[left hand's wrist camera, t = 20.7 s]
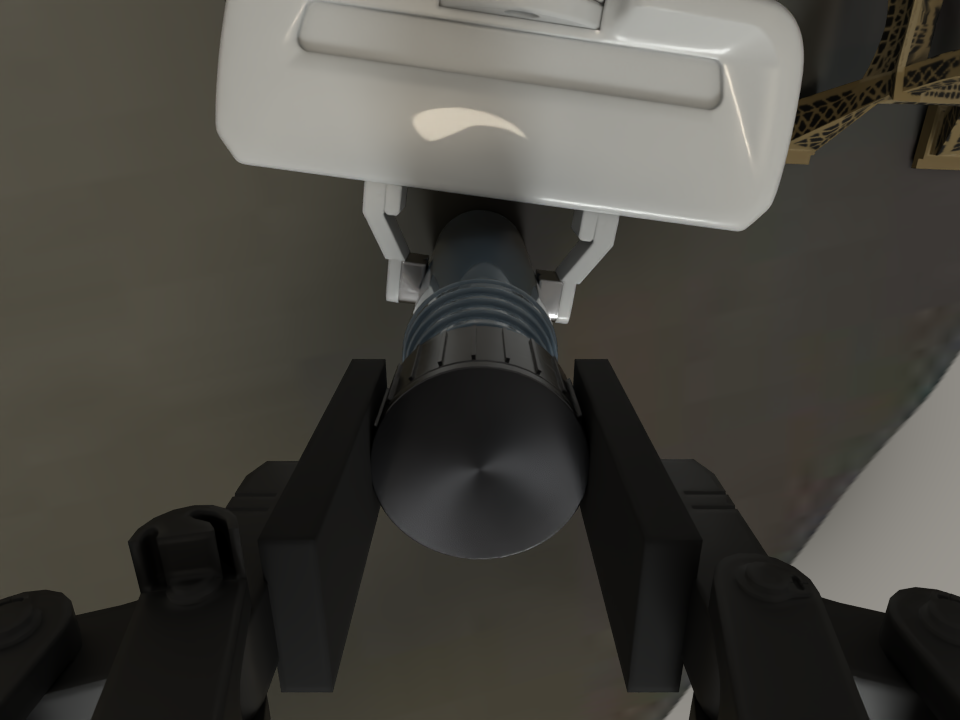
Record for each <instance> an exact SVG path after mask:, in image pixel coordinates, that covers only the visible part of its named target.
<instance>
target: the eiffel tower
mask: <svg viewBox="0 0 960 720" xmlns="http://www.w3.org/2000/svg"><path fill="white" fill-rule="evenodd" d="M942 2H943V0H888V14H887V20H886V26H885V29H884V32H883V36H882V39H881V42H880V44H879V46H878V49H877V51H876V53H875V56H874V58H873V60H872V62H871V64H870V66H869V68H868V70H867V72H866V73H865V75H864V77H863V78H862V79H861V80H858V81H855V82H852V83H849V84H846V85H842V86H839V87H836V88H833V89H830V90H827V91H824V92H821V93H817V94H814V95H811V96H808V97H805V98H802V99H799V101H798V107H797V112H796V117H795V122H794V127H793V132H792V137H791V141H790V145H789V149H788V154H787V157H786V161H785V163H786V164H809V160H810V156H811V155H814V154H815V151H816V150H818V149H819V148H820V147H822V146H823V145H824V144H825V143H827V142H828V141H829V140H831V139H832V138H833V137H835V136H836V135H837V134H839V133H840V132H841V131H842V130H844V129H845V128H846V127H848V126H849V125H850V124H852V123H853V122H854V121H855V120H857V119H858V118H859V117H861V116H862V115H863V114H865V113H866V112H867V111H868V110H870V109H871V108H872V107H874V106H875V105H876V104H878V103H883V104H924V105H929V106H928V109H927V113H926V117H925V120H924V124H923V127H922V131H921V135H920V138H919V142H918V145H917V149H916V153H915V156H914V160H913V164H912V167H911V168H919V169H945V170H960V49H959V50H955V51H951V52H946V53H943V54H940V55H938V56H935V57H932V58H929V59H927V58H928V54H929V51H930V47H931V43H932V39H933V36H934V31H935V26H936V22H937V19H938V16H939V13H940V10H941V6H942Z"/></svg>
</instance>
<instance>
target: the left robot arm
mask: <svg viewBox="0 0 960 720" xmlns="http://www.w3.org/2000/svg"><path fill="white" fill-rule="evenodd" d="M573 388H574V391H575V394H576V397H577V400H578V403H579V406H580V409H581V412H582V414H583V417H584V418H582V419H581V420H582V423H583V426H584V429H585V432H586V435H587V439H588V443H589V447H590V467H589V480H588V487H587V489H586V492H585V495H584V497H583V499H582V501H581V503H580V509H581V512H582V516H583V520H584V524H585V528H586V532H587V536H588V540H589V544H590V548H591V551H592V555H593V559H594V563H595V567H596V571H597V575H598V579H599V583H600V587H601V591H602V594H603V598H604V602H605V606H606V610H607V614H608V618H609V622H610V626H611V630H612V633H613V637H614V641H615V645H616V649H617V653H618V657H619V661H620V665H621V669H622V672H623V676H624V680H625V684H626V688H627V692H679V688H680V681H681V675H682V669H683V664H684V666H685V669H686V672H687V674H688V677H689V680H690V682H691V685H692V688H693V691H694V693H693V699H692V704H691V710H690V716H689V720H960V597H959V596H956V595H953V594H949V593H947V592H943V591H940V590H936V589H927V588H918V587H913V588H908V589H902V590H899V591H898V592H896V593H895V594H894V595H893V596H892V597H891V598H890V600H889V603H888V606H887V610H886V613H883V612H879V611H874V610H870V609H865V608H861V607H856V606H852V605H847V604H843V603H839V602H835V601H832V600H828V599H825V598H822V597H821V596H820V593H819V592H818V590H817V589H816V587H815V586H814V584H813V583H812V581H811V580H810V579H809V578H808V577H807V576H805V575H804V574H803V573H801V572H800V571H799V570H798V569H796V568H795V567H793V566H791V565H789V564H787V563H785V562H783V561H781V560H779V559H776V558H773V557H769V556H768V555H767V554H766V552H765V551H764V549H763V548H762V546H761V545H760V543H759V542H758V540H757V538H756V537H755V535H754V534H753V532H752V531H751V529H750V528H749V526H748V525H747V523H746V522H745V520H744V519H743V517H742V516H741V514H740V513H739V511H738V509H735V505H734V503H733V502H732V500H731V499H730V497H729V496H728V495H726V493H725V492H726V491H725V490H724V488H723V487H722V485H721V484H720V482H719V481H718V479H717V477H716V476H715V474H713V473H712V472H711V471H709V470H708V469H706V468H705V467H704V466H702V465H701V464H699V463H698V462H697V461H695V460H694V459H660V458H659V456H658V454H657V452H656V450H655V448H654V446H653V444H652V442H651V441H650V439H649V437H648V435H647V433H646V431H645V429H644V427H643V425H642V423H641V422H640V420H639V418H638V416H637V414H636V412H635V410H634V408H633V406H632V404H631V403H630V401H629V399H628V397H627V395H626V393H625V391H624V389H623V387H622V385H621V384H620V382H619V380H618V378H617V376H616V374H615V372H614V370H613V368H612V366H611V365H610V363H609V361H608V359H575V365H574V381H573ZM386 389H387V378H386V362H385V359H352V361H351V363H350V365H349V367H348V369H347V371H346V373H345V374H344V376H343V378H342V380H341V382H340V384H339V386H338V388H337V390H336V392H335V393H334V395H333V397H332V399H331V401H330V403H329V405H328V407H327V409H326V410H325V412H324V414H323V416H322V418H321V420H320V422H319V424H318V426H317V428H316V429H315V431H314V433H313V435H312V437H311V439H310V441H309V443H308V445H307V447H306V448H305V450H304V452H303V454H302V456H301V458H300V460H299V461H267V462H265V463H264V464H262V465H261V466H260V467H258V468H257V469H255V470H254V471H253V472H251V473H250V474H248V475H247V476H246V477H245V479H244V480H243V482H242V483H241V485H240V486H239V488H238V489H237V491H236V493H235V497H232V499H231V500H230V502H229V503H228V505H227V506H226V508H222V507H218V506H214V505H194V506H189V507H184V508H180V509H175V510H172V511H170V512H167V513H165V514H162V515H160V516H158V517H155V518H153V519H152V520H150V521H149V522H147V523H146V524H145V525H143V526H142V527H140V528H139V529H138V530H137V531H136V532H135V533H134V535H133V536H132V537H131V538H130V540H129V541H128V544H129V548H130V552H131V556H132V560H133V564H134V568H135V572H136V576H137V580H138V584H139V588H140V592H141V594H140V597H139V599H138V600H137V601H134V602H131V603H127V604H124V605H120V606H116V607H111V608H107V609H102V610H98V611H93V612H89V613H84V614H80V615H75V612H74V609H73V605H72V602H71V600H70V599H68V598H67V597H66V596H65V595H64V594H63V593H61V592H55V591H50V590H39V591H30V592H23V593H20V594H17V595H13V596H11V597H7V598H4V599H1V600H0V720H270V719H271V718H270V711H269V704H268V699H267V692H268V689H269V686H270V683H271V681H272V678H273V675H274V673H275V670H276V667H277V668H278V674H279V680H280V686H281V692H333V689H334V685H335V681H336V677H337V673H338V669H339V665H340V661H341V658H342V654H343V650H344V646H345V642H346V638H347V634H348V630H349V626H350V622H351V619H352V615H353V611H354V607H355V603H356V599H357V595H358V591H359V587H360V583H361V579H362V576H363V572H364V568H365V564H366V560H367V556H368V552H369V548H370V544H371V540H372V537H373V533H374V529H375V525H376V521H377V517H378V513H379V509H380V503H379V501H378V499H377V497H376V494H375V491H374V489H373V485H372V477H371V464H370V448H371V444H372V439H373V436H374V433H375V430H376V429H373V426H374V423H375V420H376V417H377V415H378V412H379V409H380V406H381V403H382V400H383V397H384V394H385V391H386Z"/></svg>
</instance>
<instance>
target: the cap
mask: <svg viewBox="0 0 960 720" xmlns="http://www.w3.org/2000/svg"><path fill="white" fill-rule="evenodd" d="M582 418H584V417H583V414H582V412H581V409H580V406H579V403H578V400H577V397H576V394H575V391H574V388H573V385H572V382H571V380H570V378H569V379H567V377H566V375H565V373H564V372H563V370H562V368H561V367H560V365H559V364H558V362H557V358H556V357H555V356H552V355H550V354H549V353H548V352H547V351H546V350H545V349H544V348H543V347H542V346H540V345H539V344H537V343H536V342H535V341H534V339H533V338H530V339H529V338H527V337H526V336H524V335H521V334H519V333H516V332H514V331H511V330H507V328H505V327H503V328H499V327H491V326H476V325H472V326H469V327H462V328H457V329H453V330H450V331H446V330H445V331H443V333H441V334H439V335H437V336H434V337H433V338H431V339H429V340H427V341H426V342H424V343H423V344H421V345H420V344H418V345H417V347H416V349H415V350H414V351H413V352H412V353H411V354H410V355H409V356H408V357H407V358H406V359H405V360H404V362H403V363H402V364H399V365H398V366H397V369H396V372H395V375H394V378H393V380H392V383H391V385H390V388H387V389H386V391H385V394H384V397H383V400H382V403H381V406H380V409H379V412H378V415H377V417H376V420H375V423H374V426H373V429H376V430H375V433H374V436H373V439H372V444H371V448H370V464H371V477H372V485H373V489H374V491H375V494H376V497H377V499H378V501H379V503H380V505H381V506H382V508H383V510H384V511H385V513H386V514H387V515H388V517H389V518H390V519H391V521H392V522H393V523H394V524H395V525H396V526H397V527H398V528H399V529H400V530H401V531H402V532H404V533H405V534H406V535H408V536H409V537H410V538H411V539H413V540H415V541H416V542H418V543H420V544H421V545H423V546H425V547H427V548H430V549H432V550H434V551H437V552H440V553H443V554H446V555H450V556H455V557H459V558H468V559H493V558H501V557H506V556H510V555H515V554H517V553H520V552H523V551H526V550H529V549H531V548H533V547H535V546H537V545H539V544H541V543H542V542H544V541H545V540H547V539H549V538H550V537H551V536H553V535H554V534H555V533H556V532H558V531H559V530H560V529H561V528H562V527H563V526H564V525H565V524H566V523H567V522H568V521H569V520H570V518H571V517H572V516H573V514H574V513H575V512H576V510H577V509H578V507H579V505H580V503H581V501H582V499H583V497H584V495H585V492H586V489H587V487H588V480H589V467H590V447H589V443H588V439H587V435H586V432H585V429H584V426H583V423H582V420H581V419H582Z"/></svg>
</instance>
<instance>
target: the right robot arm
mask: <svg viewBox="0 0 960 720" xmlns="http://www.w3.org/2000/svg"><path fill="white" fill-rule="evenodd" d="M777 1H778V0H225V2H226V5H225V11H224V18H223V25H222V32H221V40H220V49H219V58H218V70H217V86H216V113H215V122H216V130H217V133H218V135H219V137H220V138H221V140H222V141H223V143H224V144H225V145H226V147H227V148H228V150H229V151H230V153H231V154H232V155H233V157H234V158H235V159H236V160H237V161H238V162H240V163H242V164H246V165H253V166H260V167H267V168H275V169H282V170H289V171H297V172H304V173H312V174H319V175H326V176H334V177H341V178H348V179H356V180H363V181H365V182H364V198H363V214H364V216H365V218H366V220H367V222H368V224H369V226H370V228H371V230H372V232H373V234H374V236H375V238H376V240H377V242H378V244H379V246H380V248H381V251H382V253H383V255H384V257H385V259H389V262H388V274H387V287H386V301H391V302H397V303H398V302H400V303H409V304H415V303H416V300H417V297H418V294H419V291H420V288H421V285H422V283H423V280H424V277H425V274H426V271H427V268H428V262H429V255H423V254H417V253H410V250H409V248H408V246H407V243H406V241H405V239H404V237H403V234H402V232H401V230H400V227H399V225H398V223H397V220H396V218H395V216H397V215H398V214H399V213H400V212H401V211H402V210H403V208H404V207H405V206H406V198H407V187H414V188H422V189H429V190H436V191H444V192H451V193H458V194H466V195H473V196H481V197H488V198H495V199H503V200H510V201H517V202H525V203H532V204H539V205H547V206H554V207H561V208H569V209H574V215H573V221H572V227H571V228H572V230H573V231H574V233H575V234H576V235H577V236H578V237H579V238H580V240H579V241H578V242H577V244H576V245H575V246H574V248H573V249H572V250H571V251H570V253H569V254H568V255H567V256H566V258H565V259H564V260H563V261H562V263H561V264H560V265H559V266H558V268H557V269H556V270H555V271H556V272H555V271H546V270H536V274H535V276H536V279H537V282H538V285H539V287H540V290H541V293H542V296H543V299H544V302H545V305H546V307H547V310H548V313H549V316H550V319H551V322H556V323H564V324H567V323H568V321H569V318H570V314H571V309H572V304H573V298H574V293H575V288H576V284H580V283H581V282H582V281H583V279H584V278H585V277H586V276H587V275H588V274H589V273H590V271H591V270H592V269H593V268H594V267H595V266H596V265H597V264H598V262H599V261H600V260H601V259H602V258H603V257H604V256H605V254H606V253H607V252H608V251H609V250H610V249H611V248H612V246H613V244H614V240H615V235H616V230H617V226H618V221H619V217H620V216H627V217H635V218H642V219H650V220H657V221H664V222H672V223H679V224H686V225H694V226H701V227H708V228H716V229H723V230H731V231H742V230H744V229H746V228H747V227H748V226H750V225H751V224H752V223H754V222H755V221H756V220H757V219H758V218H759V217H760V216H761V215H762V214H764V213H765V212H766V211H767V210H768V209H769V207H770V206H771V204H772V202H773V200H774V198H775V195H776V192H777V189H778V186H779V183H780V180H781V176H782V173H783V169H784V165H785V161H786V157H787V154H788V149H789V145H790V141H791V137H792V132H793V127H794V122H795V117H796V112H797V107H798V101H799V95H800V89H801V83H802V76H803V66H804V48H803V40H802V35H801V31H800V28H799V26H798V24H797V22H796V20H795V18H794V17H793V15H792V14H791V13H790V11H789V10H788V9H787V8H785V7H784V6H783V5H782V4H780V3H779V2H777ZM394 215H395V216H394Z"/></svg>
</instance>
